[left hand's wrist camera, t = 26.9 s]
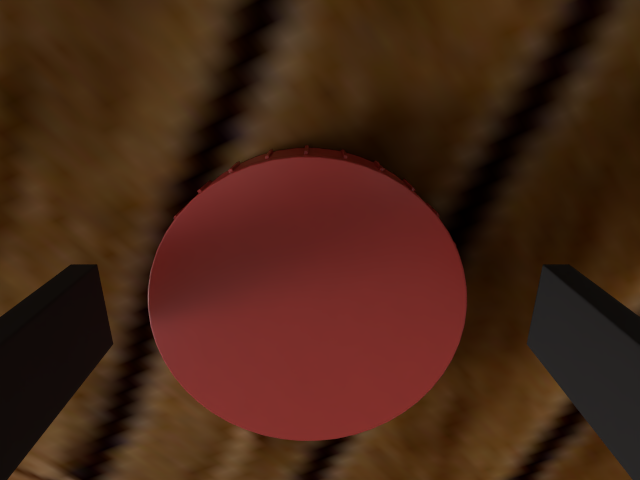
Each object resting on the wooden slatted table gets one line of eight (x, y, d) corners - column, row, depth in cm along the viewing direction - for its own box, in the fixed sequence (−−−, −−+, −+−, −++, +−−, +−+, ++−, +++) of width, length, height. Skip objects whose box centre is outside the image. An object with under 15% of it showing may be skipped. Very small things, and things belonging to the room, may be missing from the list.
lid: (500, 203, 14) (527, 220, 13) (387, 431, 18) (395, 471, 16) (205, 100, 13) (186, 102, 11) (140, 364, 16) (118, 399, 15)
